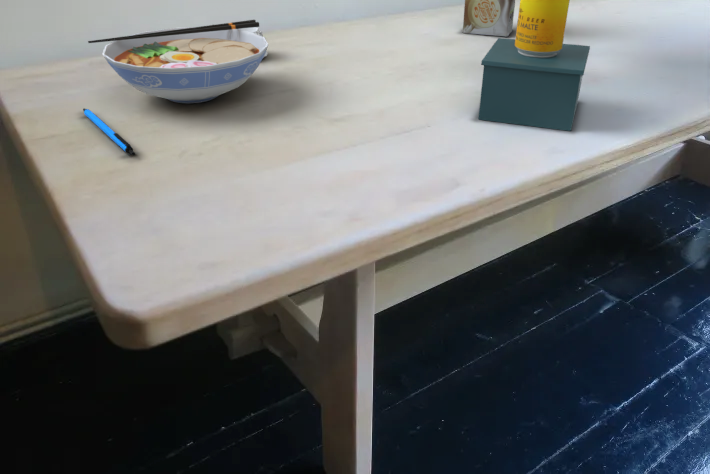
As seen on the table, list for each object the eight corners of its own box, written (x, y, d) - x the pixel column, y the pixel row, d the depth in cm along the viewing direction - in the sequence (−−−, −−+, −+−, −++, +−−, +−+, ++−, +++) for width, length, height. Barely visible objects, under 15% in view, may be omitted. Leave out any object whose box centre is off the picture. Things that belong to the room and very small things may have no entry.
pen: (130, 158, 77) (128, 149, 76) (80, 112, 90) (79, 104, 90) (137, 156, 77) (136, 147, 77) (87, 111, 91) (85, 103, 90)
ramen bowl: (115, 135, 83) (103, 71, 79) (94, 84, 101) (83, 30, 97) (301, 107, 93) (299, 49, 89) (251, 65, 111) (247, 15, 106)
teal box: (580, 102, 95) (590, 45, 91) (573, 132, 85) (584, 70, 81) (492, 92, 99) (498, 37, 95) (475, 120, 89) (481, 60, 85)
